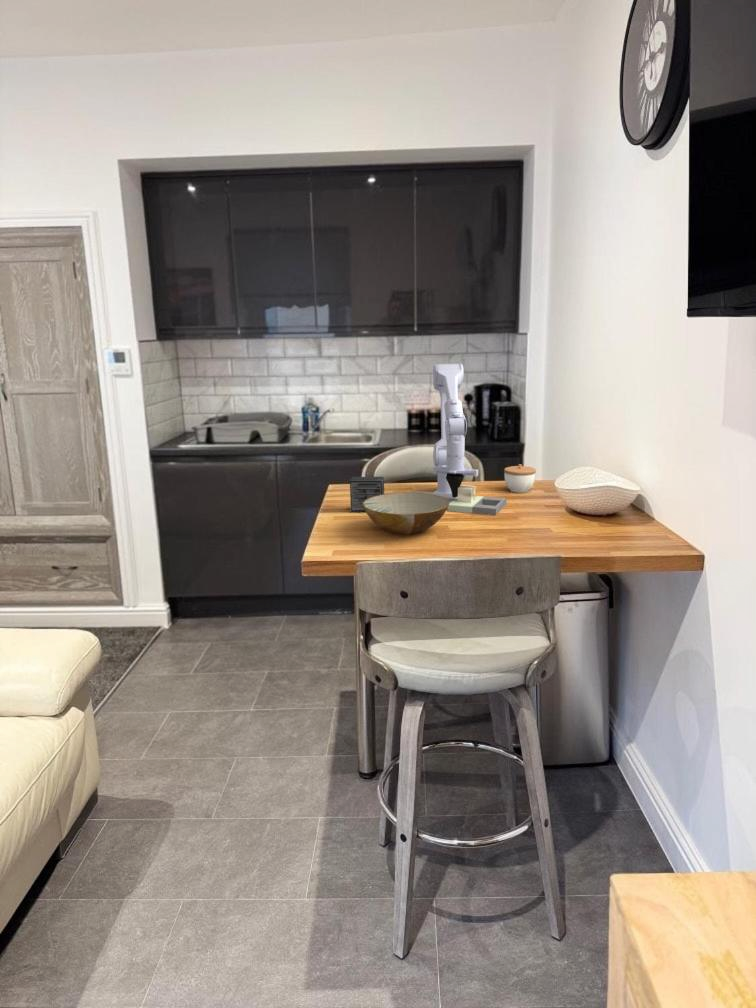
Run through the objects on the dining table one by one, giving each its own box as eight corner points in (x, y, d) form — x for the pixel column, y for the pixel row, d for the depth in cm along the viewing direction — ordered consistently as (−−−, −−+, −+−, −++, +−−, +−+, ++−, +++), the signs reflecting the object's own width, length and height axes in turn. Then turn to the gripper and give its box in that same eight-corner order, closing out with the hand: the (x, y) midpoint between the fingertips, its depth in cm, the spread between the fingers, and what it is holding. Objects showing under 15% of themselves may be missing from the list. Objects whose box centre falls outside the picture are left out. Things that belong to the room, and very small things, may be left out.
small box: (385, 507, 234) (384, 475, 232) (383, 512, 228) (382, 480, 225) (352, 507, 235) (352, 475, 233) (350, 512, 229) (349, 480, 227)
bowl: (459, 538, 200) (459, 511, 198) (369, 545, 196) (369, 516, 194) (437, 515, 224) (437, 490, 222) (357, 520, 220) (356, 494, 218)
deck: (413, 496, 247) (413, 490, 247) (506, 504, 235) (506, 498, 235) (399, 506, 235) (398, 500, 234) (495, 515, 223) (496, 508, 222)
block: (461, 498, 236) (461, 484, 235) (475, 499, 234) (475, 486, 233) (457, 501, 232) (457, 488, 231) (471, 502, 230) (471, 489, 229)
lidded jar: (497, 489, 256) (498, 463, 253) (522, 485, 260) (523, 460, 258) (515, 495, 246) (516, 468, 244) (541, 492, 251) (542, 465, 248)
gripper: (429, 456, 230) (429, 497, 233) (474, 458, 224) (473, 501, 228) (436, 452, 236) (436, 492, 240) (480, 454, 231) (479, 496, 234)
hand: (455, 496), depth 234 cm, fingers closed
